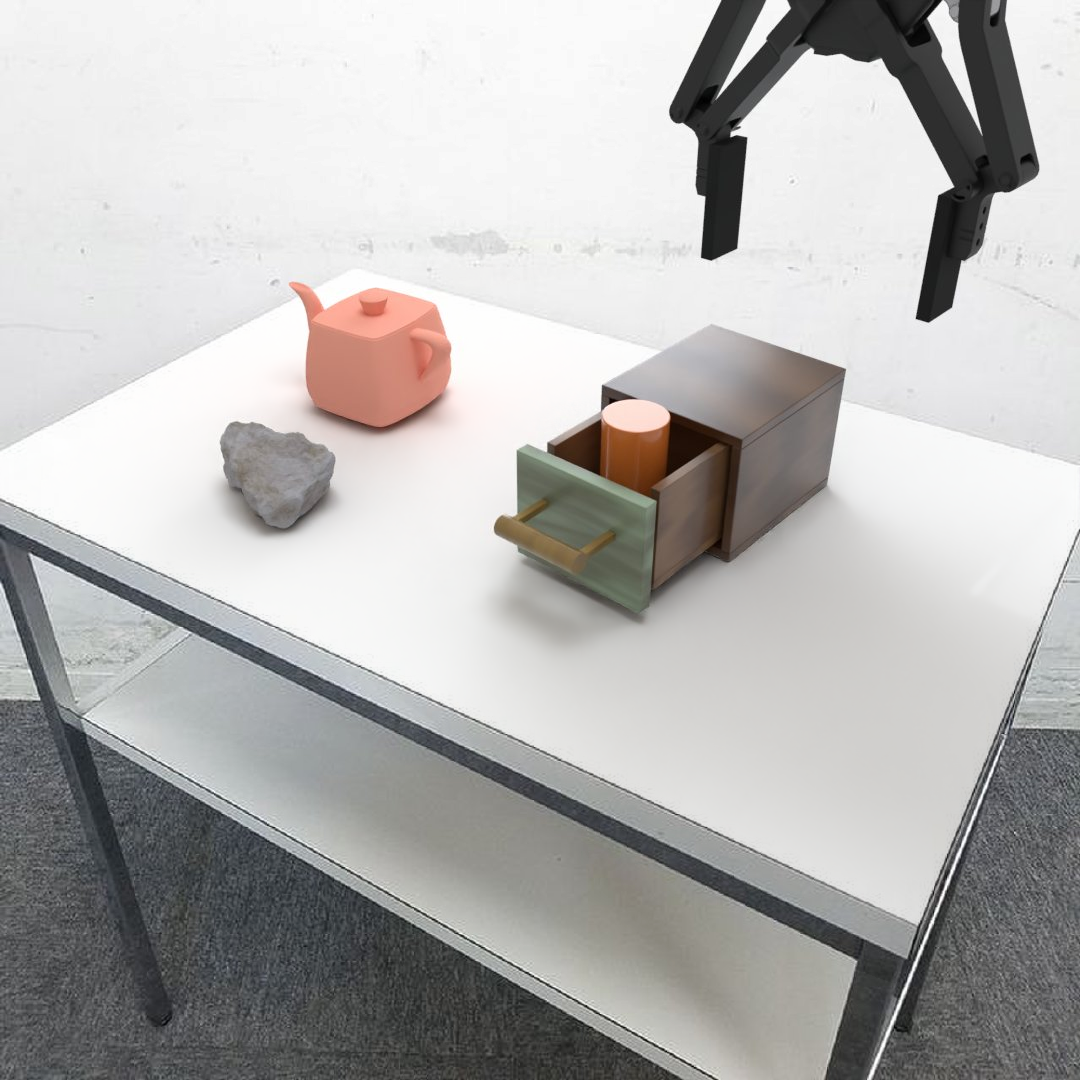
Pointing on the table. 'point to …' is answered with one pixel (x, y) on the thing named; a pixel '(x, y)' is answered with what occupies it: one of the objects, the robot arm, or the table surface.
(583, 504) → the drawer
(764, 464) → the cabinet
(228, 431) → the stone
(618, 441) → the canister
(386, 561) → the table surface
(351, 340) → the teapot
